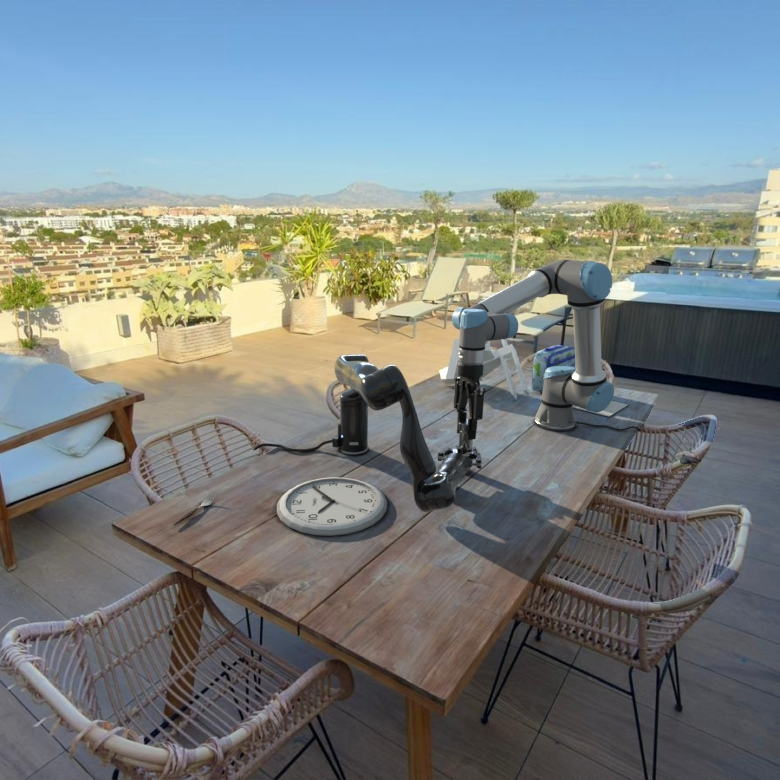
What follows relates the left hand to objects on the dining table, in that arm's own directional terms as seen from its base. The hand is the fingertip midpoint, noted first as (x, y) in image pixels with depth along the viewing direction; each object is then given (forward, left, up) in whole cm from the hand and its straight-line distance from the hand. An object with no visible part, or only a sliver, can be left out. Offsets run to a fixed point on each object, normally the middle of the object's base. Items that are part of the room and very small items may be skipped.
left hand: (467, 448), depth 165 cm
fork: (-59, -56, -7) cm, 82 cm away
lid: (0, -3, +10) cm, 10 cm away
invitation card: (+39, +83, -7) cm, 92 cm away
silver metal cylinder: (0, -3, -7) cm, 7 cm away
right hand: (0, -3, +5) cm, 6 cm away
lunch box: (+16, +100, -7) cm, 101 cm away
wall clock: (-27, -38, -7) cm, 48 cm away
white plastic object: (-14, +81, -7) cm, 82 cm away
